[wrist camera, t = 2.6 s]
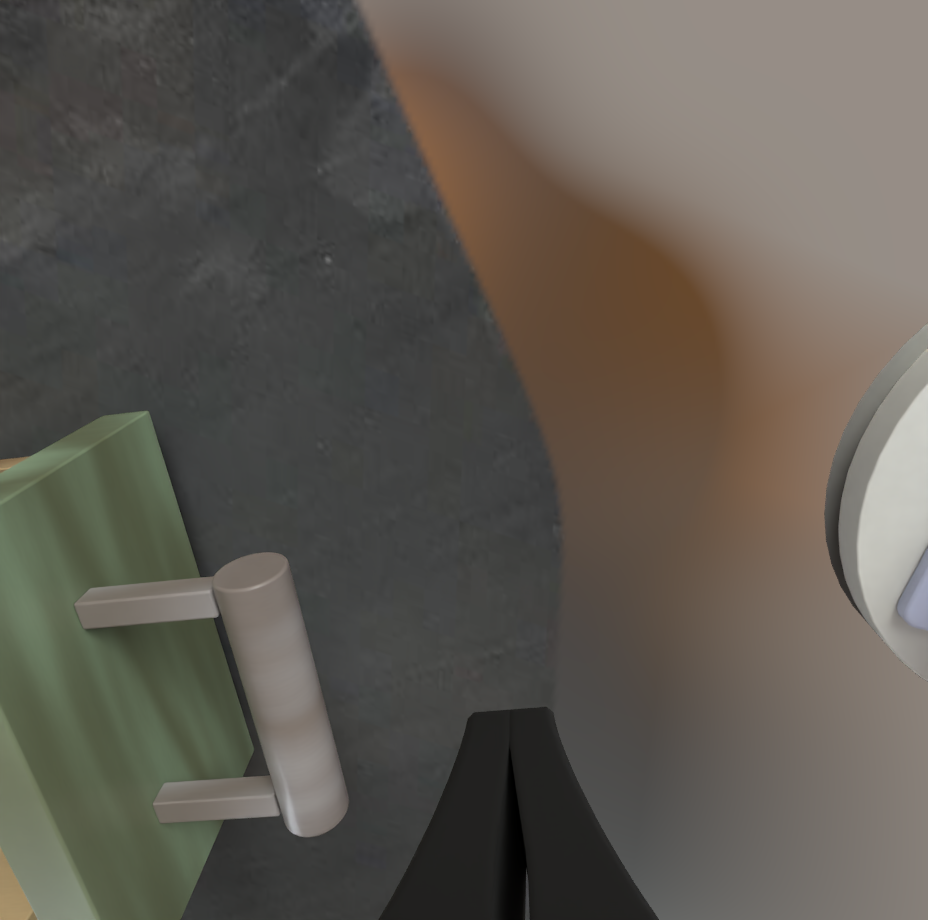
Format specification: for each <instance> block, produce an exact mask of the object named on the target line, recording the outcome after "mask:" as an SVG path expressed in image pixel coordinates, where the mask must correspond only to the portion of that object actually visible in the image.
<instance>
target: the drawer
mask: <svg viewBox="0 0 928 920" xmlns="http://www.w3.org/2000/svg"><path fill="white" fill-rule="evenodd" d="M220 614H221V616H222V619H223V623H224V626H225V629H226V632H227V636H228V639H229V642H230V645H231V649H232V652H233V655H234V659H235V662H236V665H237V668H238V672H239V675H240V678H241V681H242V685H243V688H244V691H245V694H246V698H247V701H248V704H249V708H250V711H251V714H252V717H253V721H254V724H255V727H256V730H257V734H258V737H259V740H260V744H261V747H262V750H263V753H264V757H265V760H266V763H267V766H268V770H269V773H270V775H267V776H252V777H243V775H244V773H245V770H246V768H247V766H248V763H249V761H250V759H251V757H252V754H253V752H254V747H253V744H252V741H251V738H250V735H249V731H248V728H247V725H246V722H245V719H244V715H243V712H242V709H241V706H240V703H239V699H238V696H237V693H236V690H235V686H234V683H233V680H232V677H231V674H230V670H229V667H228V664H227V661H226V658H225V654H224V651H223V648H222V645H221V642H220V638H219V635H218V632H217V629H216V625H215V622H214V619H213V618H216V617H218V616H219V615H220ZM348 805H349V796H348V792H347V788H346V784H345V780H344V776H343V772H342V769H341V765H340V761H339V757H338V753H337V749H336V745H335V741H334V737H333V733H332V729H331V726H330V722H329V718H328V714H327V710H326V706H325V702H324V698H323V694H322V690H321V686H320V682H319V679H318V675H317V671H316V667H315V663H314V659H313V655H312V651H311V647H310V643H309V639H308V636H307V632H306V628H305V624H304V620H303V616H302V612H301V608H300V604H299V600H298V596H297V592H296V589H295V585H294V581H293V577H292V573H291V569H290V565H289V562H288V560H287V559H286V557H285V556H283V555H281V554H278V553H272V552H264V553H256V554H251V555H247V556H244V557H241V558H238V559H236V560H234V561H232V562H230V563H228V564H226V565H225V566H223V567H222V568H221V569H219V570H218V571H217V572H216V574H215V575H214V576H211V577H200V574H199V571H198V568H197V564H196V561H195V558H194V555H193V552H192V548H191V545H190V542H189V539H188V536H187V532H186V529H185V526H184V523H183V519H182V516H181V513H180V510H179V507H178V503H177V500H176V497H175V494H174V491H173V487H172V484H171V481H170V478H169V475H168V471H167V468H166V465H165V462H164V458H163V455H162V452H161V449H160V446H159V442H158V439H157V436H156V433H155V430H154V426H153V423H152V420H151V417H150V413H149V412H148V411H140V412H131V413H123V414H114V415H106V416H102V417H100V418H98V419H96V420H94V421H93V422H91V423H89V424H87V425H86V426H84V427H82V428H80V429H78V430H77V431H75V432H73V433H71V434H70V435H68V436H66V437H64V438H62V439H61V440H59V441H57V442H55V443H54V444H52V445H50V446H48V447H46V448H45V449H43V450H41V451H39V452H37V453H36V454H34V455H32V456H30V457H21V458H12V459H4V460H0V920H181V918H182V916H183V913H184V911H185V909H186V906H187V904H188V902H189V899H190V897H191V895H192V893H193V890H194V888H195V886H196V883H197V881H198V879H199V876H200V874H201V872H202V869H203V867H204V865H205V863H206V860H207V858H208V856H209V853H210V851H211V849H212V846H213V844H214V842H215V840H216V837H217V835H218V833H219V830H220V828H221V826H222V823H223V821H224V820H225V819H241V818H256V817H272V816H279V815H280V813H281V812H282V815H283V819H284V822H285V825H286V827H287V828H288V830H289V831H291V832H292V833H293V834H295V835H297V836H300V837H314V836H318V835H321V834H324V833H326V832H328V831H330V830H331V829H333V828H334V827H335V826H336V825H337V824H338V823H339V822H340V821H341V820H342V819H343V817H344V816H345V814H346V812H347V809H348Z"/></svg>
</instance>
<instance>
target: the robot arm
mask: <svg viewBox="0 0 928 920" xmlns="http://www.w3.org/2000/svg"><path fill="white" fill-rule="evenodd" d="M897 610H898V614H899V615H900V616H901V617H902V618H903V619H904V621H905V622H906V623H907V624H908V625H910V626H912V627H914V628H918V629H922V630H927V631H928V547H927V549H926V551H925V553H924V555H923V557H922V559H921V560H920V562H919V564H918V566H917V568H916V570H915V572H914V573H913V575H912V577H911V579H910V581H909V583H908V584H907V586H906V588H905V590H904V592H903V594H902V596H901V597H900V599H899V602H898V605H897ZM526 867H527V874H528V881H529V907H530V920H659V919H658V917H657V916H656V915H655V913H654V912H653V910H652V909H651V907H650V906H649V904H648V903H647V901H646V900H645V899H644V897H643V896H642V894H641V892H640V891H639V889H638V888H637V886H636V885H635V883H634V882H633V880H632V879H631V877H630V875H629V874H628V872H627V870H626V869H625V867H624V865H623V864H622V862H621V860H620V859H619V857H618V855H617V854H616V852H615V850H614V849H613V847H612V846H611V844H610V842H609V840H608V838H607V837H606V835H605V833H604V831H603V829H602V828H601V826H600V824H599V822H598V820H597V819H596V817H595V815H594V813H593V811H592V809H591V807H590V805H589V803H588V801H587V799H586V797H585V795H584V793H583V791H582V789H581V787H580V785H579V783H578V781H577V779H576V776H575V774H574V772H573V770H572V767H571V765H570V763H569V760H568V758H567V755H566V753H565V750H564V748H563V745H562V743H561V740H560V737H559V734H558V730H557V727H556V723H555V719H554V713H553V712H552V711H551V710H550V709H548V708H547V707H540V708H527V709H514V710H501V711H488V712H475V713H473V714H472V715H471V716H470V717H469V718H468V721H467V725H466V729H465V733H464V736H463V740H462V743H461V746H460V749H459V752H458V755H457V758H456V761H455V763H454V766H453V769H452V771H451V774H450V777H449V779H448V782H447V784H446V787H445V789H444V791H443V794H442V796H441V798H440V801H439V803H438V806H437V808H436V810H435V813H434V815H433V817H432V819H431V822H430V824H429V826H428V828H427V830H426V832H425V834H424V836H423V838H422V840H421V842H420V844H419V846H418V848H417V850H416V852H415V854H414V856H413V858H412V860H411V862H410V864H409V866H408V868H407V870H406V872H405V874H404V876H403V878H402V880H401V881H400V883H399V885H398V887H397V889H396V891H395V892H394V894H393V896H392V898H391V899H390V901H389V903H388V905H387V906H386V908H385V910H384V911H383V913H382V915H381V916H380V918H379V920H525V898H526Z"/></svg>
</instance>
